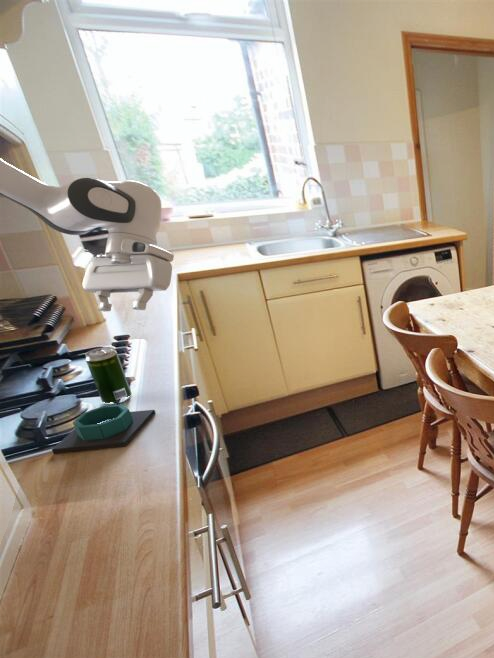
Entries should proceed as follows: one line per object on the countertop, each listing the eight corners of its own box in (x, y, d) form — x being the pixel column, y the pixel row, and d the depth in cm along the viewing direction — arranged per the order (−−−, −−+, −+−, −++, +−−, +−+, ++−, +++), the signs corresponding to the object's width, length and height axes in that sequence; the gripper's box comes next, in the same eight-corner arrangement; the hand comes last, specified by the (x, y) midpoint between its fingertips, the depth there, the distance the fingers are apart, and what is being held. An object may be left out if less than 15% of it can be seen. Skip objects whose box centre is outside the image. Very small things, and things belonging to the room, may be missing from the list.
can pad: (53, 453, 87) (45, 436, 86) (91, 419, 98) (84, 402, 96) (126, 446, 90) (119, 429, 88) (155, 413, 100) (150, 397, 99)
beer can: (138, 396, 107) (121, 348, 102) (113, 407, 102) (94, 358, 97) (122, 391, 109) (104, 345, 104) (96, 403, 104) (77, 354, 99)
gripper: (79, 249, 106) (68, 308, 103) (155, 244, 102) (145, 305, 100) (107, 259, 112) (98, 314, 109) (180, 254, 108) (171, 312, 106)
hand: (121, 310), depth 105 cm, fingers open, 8 cm apart
